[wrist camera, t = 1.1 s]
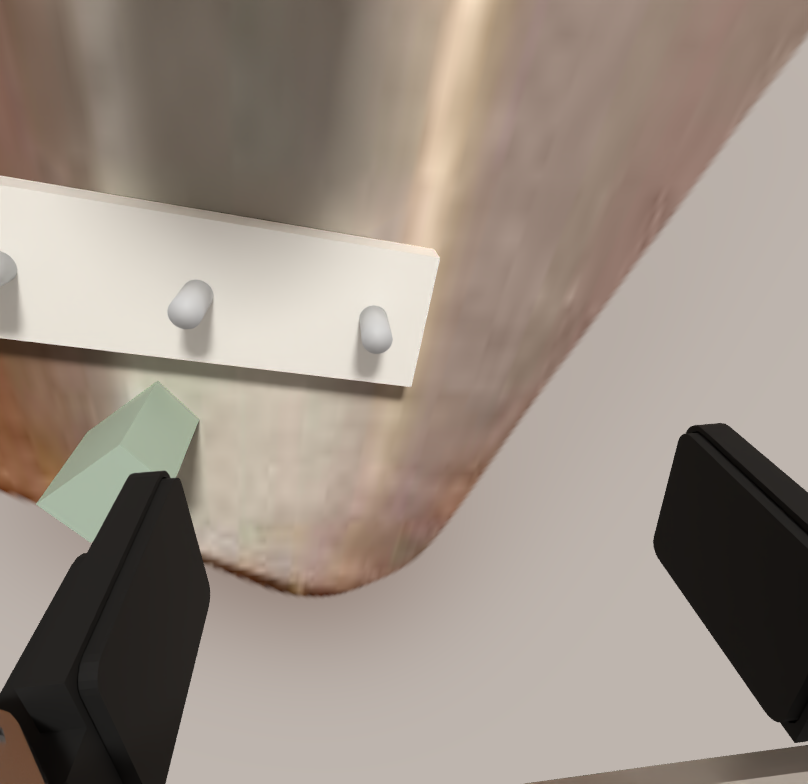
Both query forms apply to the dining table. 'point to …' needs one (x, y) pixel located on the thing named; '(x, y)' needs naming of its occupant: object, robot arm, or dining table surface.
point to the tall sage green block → (119, 458)
